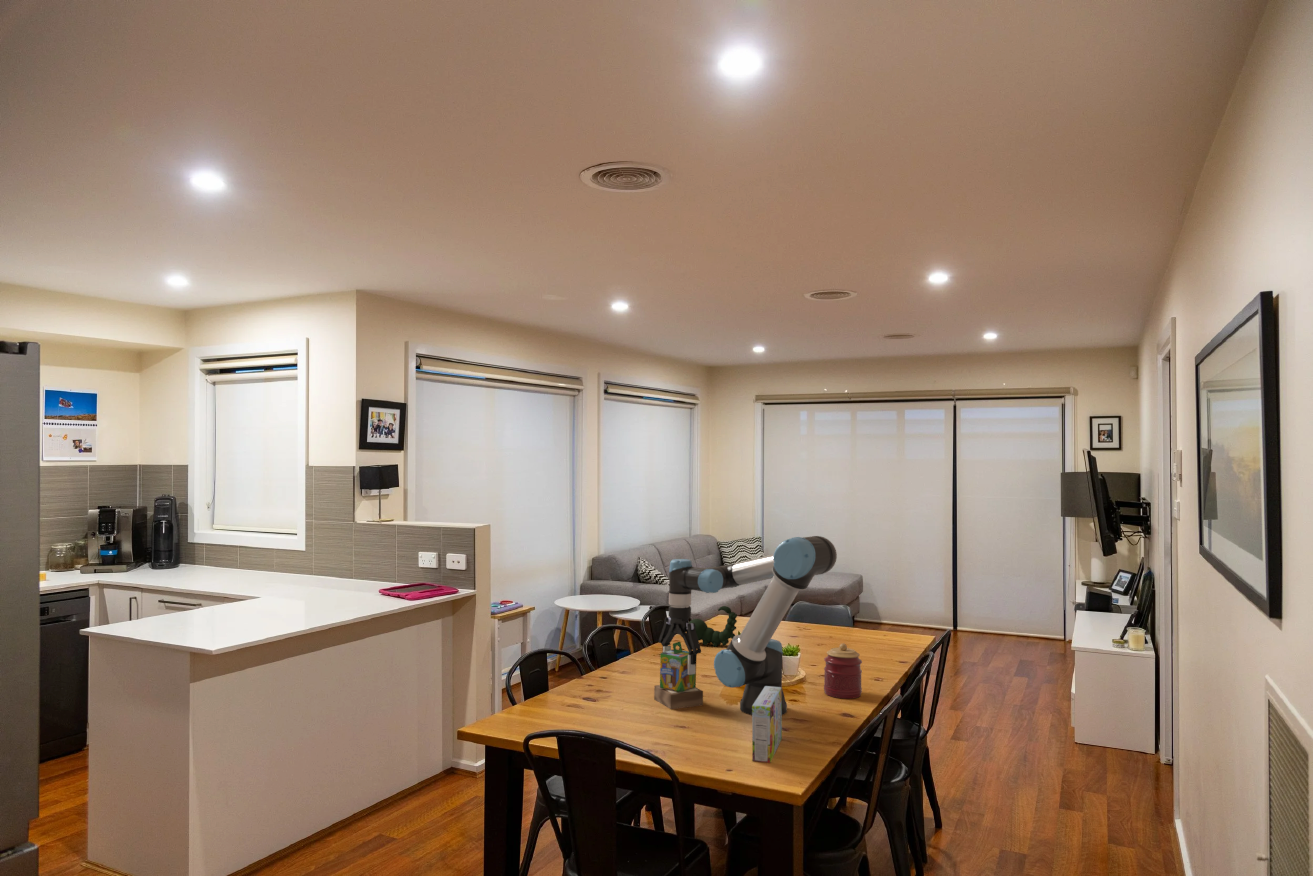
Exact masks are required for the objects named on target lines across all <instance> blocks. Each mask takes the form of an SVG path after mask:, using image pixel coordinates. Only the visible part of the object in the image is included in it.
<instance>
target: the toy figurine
mask: <svg viewBox="0 0 1313 876" xmlns="http://www.w3.org/2000/svg"><path fill="white" fill-rule="evenodd" d="M717 610H718V611H724V612H725V613H726V614H728V618H727V620H726V624H725V627H724V629H723V630H722V631H719V630H715V629H714V628H713V627H709V626H708V624H707V623H706V621H704V620H702V619H701V618H693V619H691V620H690V621H689V623H695V630H696V634H697V637H698V641H699V642H700V641H702V645H704V646H707V645H709V644H712V647H713V646H714V648H716V647H718V646H720V645H721V644H722V646H727V644H728V645H729V644H730V640H729V639H731V640H732V639H733V637H734V636H736V634H735V633H734V631H735V630H737V626H736V624H737V623H738V620H737V618H738V614H737V613H736V612H734V611H732V609H731V608H730V606H726V605H722V606H720V607H718V609H717Z"/></svg>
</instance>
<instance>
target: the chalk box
mask: <svg viewBox="0 0 1313 876" xmlns="http://www.w3.org/2000/svg"><path fill="white" fill-rule="evenodd" d="M681 643H682V642H681V641H677V642H673V643H672V649H671V650H670V651H666V652H663V651H662V652H661V653H660V655H659V656H660V657H659V659H660V663H659V666H660V667H659V672H660V673H659V677H660V678H659V685H660V688H664V689H669V690H674V691H679V692H683V691H686V690H689V689H692V688H695V687H696V686H697V684H696V683H697V682H696V681H697V668H696V669H695V674H691V675H688V654H689V651H688V650H684V649H683V648H682V644H681ZM676 647H679V648H678V649H677V648H676ZM697 655H698V654H697ZM697 655H696V659H698V658H697V657H698V656H697ZM696 688H697V687H696Z"/></svg>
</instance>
